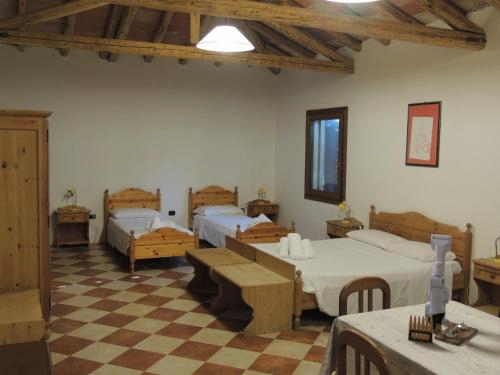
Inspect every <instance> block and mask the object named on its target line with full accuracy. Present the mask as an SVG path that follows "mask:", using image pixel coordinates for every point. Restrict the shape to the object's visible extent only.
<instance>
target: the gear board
mask: <svg viewBox="0 0 500 375" xmlns="http://www.w3.org/2000/svg"><path fill="white" fill-rule="evenodd" d="M458 324H459V323H456V322H455V323H454V324H452V325H450V326H448V327H447V328H446V329H443V330H442V332H441V333H436V335H434V339H433V340H437V341H440V342H444V343H447V344H451V345H455V346H460V345H461V344H462V343H464V342H466V341H467V340H468V339H470V338H471V337H472V336H474V335H475V334H477V333H478V332H479V329H478V328H475V327H472V326H469V330H467V331H463V330H459V329H458V333H456V334H458V337H457V338H456V339H450V338H449V339H448V338H447V337H445V336H444V333H445V332H446V331H448V332H449V330H450V329H452V332H453V331H455V328H456V325H458Z"/></svg>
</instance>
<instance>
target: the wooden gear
mask: <svg viewBox="0 0 500 375" xmlns="http://www.w3.org/2000/svg"><path fill="white" fill-rule="evenodd" d="M442 329H443V326H442V324H437V323H436V328H435V330H433V334H434V333H435V334H439V333H441V332H442V331H443V330H442Z"/></svg>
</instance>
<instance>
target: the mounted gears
mask: <svg viewBox="0 0 500 375" xmlns="http://www.w3.org/2000/svg"><path fill="white" fill-rule="evenodd" d="M457 324H458V325H456V328H455V331H453V332H452V329H450V330H449V332H448V331H446V332H445V333H444V336H445V337H447V338H448V339H449V338H450V339H456V338H457V337H458V334H456V333H458V329H459V330H463V331H467V330H469V327H470V325H467V324H465V322H464V321H461V323H457Z"/></svg>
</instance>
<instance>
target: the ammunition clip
mask: <svg viewBox="0 0 500 375" xmlns="http://www.w3.org/2000/svg"><path fill="white" fill-rule="evenodd" d="M424 318H425V315H423V316H422V318H421V315H418V317H417V315H416V314H415V315H414V316H412V314H410V316H409V322H408V335H407V336H408V337H407V341H411V342H419V343H426V344H433V343H434V342H433V340H434V339H433V334H434V332H433V320H432V317H431V318H430V325H429V320H428V316H427V318H426V320H425V319H424Z"/></svg>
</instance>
